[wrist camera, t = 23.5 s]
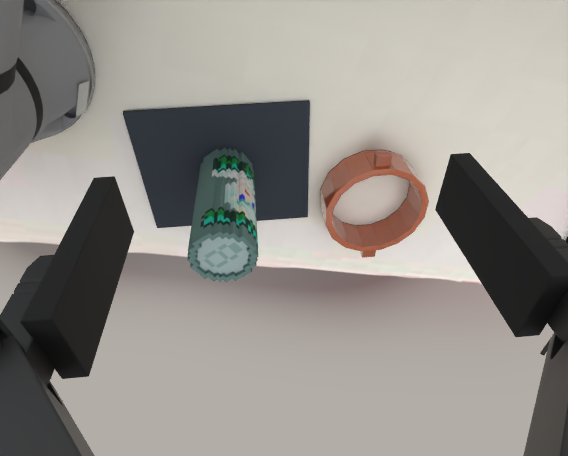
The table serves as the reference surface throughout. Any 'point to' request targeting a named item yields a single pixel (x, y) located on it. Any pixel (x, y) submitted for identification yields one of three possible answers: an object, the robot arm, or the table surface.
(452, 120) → the table surface
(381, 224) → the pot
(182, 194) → the mat
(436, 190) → the table surface
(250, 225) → the can
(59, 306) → the robot arm
